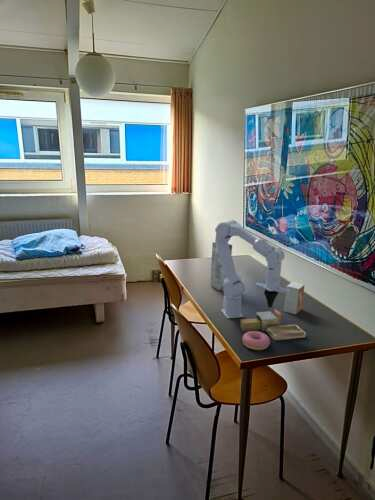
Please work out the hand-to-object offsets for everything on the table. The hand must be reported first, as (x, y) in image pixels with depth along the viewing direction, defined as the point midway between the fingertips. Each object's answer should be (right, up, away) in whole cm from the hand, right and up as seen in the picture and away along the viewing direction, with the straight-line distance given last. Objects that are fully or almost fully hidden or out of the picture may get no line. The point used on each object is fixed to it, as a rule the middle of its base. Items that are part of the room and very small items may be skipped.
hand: (270, 306), depth 158 cm
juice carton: (-18, +3, +47) cm, 51 cm away
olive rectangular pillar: (-8, -10, 0) cm, 13 cm away
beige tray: (+5, -11, -5) cm, 13 cm away
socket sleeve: (-1, -9, +2) cm, 9 cm away
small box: (+16, -5, +20) cm, 26 cm away
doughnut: (-9, -13, -13) cm, 21 cm away
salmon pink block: (0, -9, +2) cm, 9 cm away
